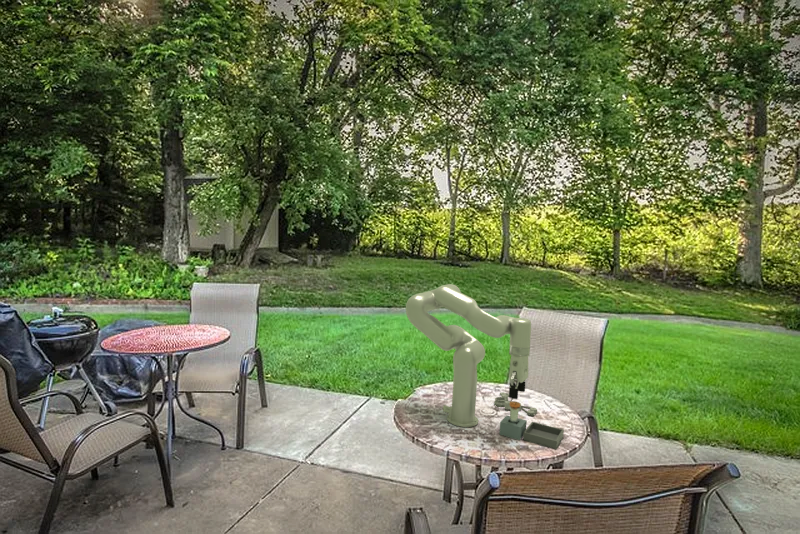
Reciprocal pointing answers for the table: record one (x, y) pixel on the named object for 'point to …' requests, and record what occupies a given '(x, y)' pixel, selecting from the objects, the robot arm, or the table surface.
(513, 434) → the block
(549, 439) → the parts tray
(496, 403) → the pulley system
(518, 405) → the pin
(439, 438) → the table surface
